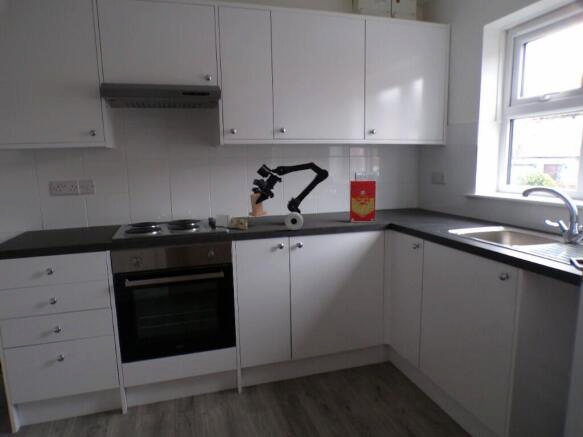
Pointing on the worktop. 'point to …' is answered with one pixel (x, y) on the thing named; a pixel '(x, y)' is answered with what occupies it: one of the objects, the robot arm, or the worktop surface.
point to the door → (239, 223)
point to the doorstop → (256, 206)
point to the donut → (291, 216)
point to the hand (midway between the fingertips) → (253, 203)
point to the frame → (223, 220)
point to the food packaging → (362, 200)
